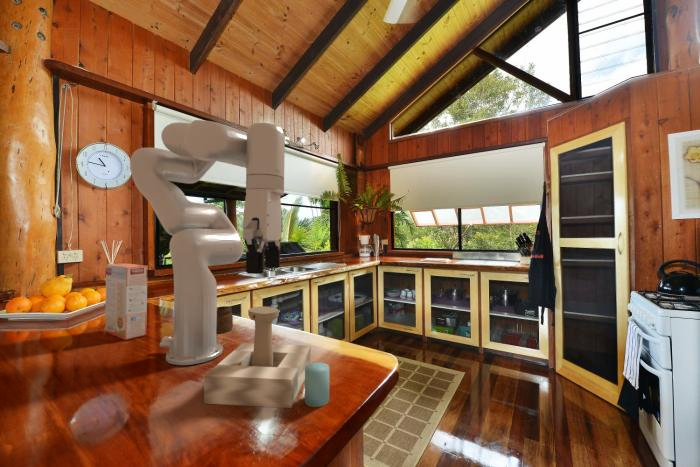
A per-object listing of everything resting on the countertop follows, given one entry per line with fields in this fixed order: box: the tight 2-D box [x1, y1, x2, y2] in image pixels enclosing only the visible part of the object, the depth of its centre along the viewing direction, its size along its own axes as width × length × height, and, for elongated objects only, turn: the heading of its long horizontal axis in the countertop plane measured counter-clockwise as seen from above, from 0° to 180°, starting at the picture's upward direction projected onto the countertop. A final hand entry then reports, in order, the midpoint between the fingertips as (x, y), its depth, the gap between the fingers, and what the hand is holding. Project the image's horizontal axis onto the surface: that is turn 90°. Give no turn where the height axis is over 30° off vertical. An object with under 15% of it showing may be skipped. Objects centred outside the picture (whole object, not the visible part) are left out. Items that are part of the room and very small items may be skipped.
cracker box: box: [104, 262, 148, 341], centre depth 90 cm, size 14×6×21 cm, turn 58°
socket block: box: [203, 342, 311, 409], centre depth 61 cm, size 16×16×5 cm
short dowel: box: [304, 361, 330, 408], centre depth 55 cm, size 4×4×6 cm
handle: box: [247, 306, 280, 367], centre depth 61 cm, size 5×6×15 cm
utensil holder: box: [216, 295, 234, 334], centre depth 94 cm, size 6×6×12 cm
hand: (264, 270), depth 61 cm, fingers open, 9 cm apart
